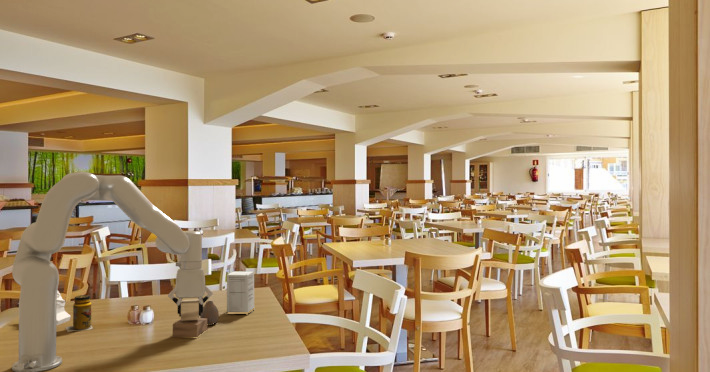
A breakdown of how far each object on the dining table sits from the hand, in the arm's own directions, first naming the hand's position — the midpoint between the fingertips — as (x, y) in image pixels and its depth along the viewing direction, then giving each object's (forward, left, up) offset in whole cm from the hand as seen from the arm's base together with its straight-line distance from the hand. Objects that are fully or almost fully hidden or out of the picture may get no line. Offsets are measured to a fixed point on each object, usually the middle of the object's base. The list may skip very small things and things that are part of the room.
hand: (190, 314), depth 188 cm
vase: (+13, -6, -7) cm, 16 cm away
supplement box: (+30, -18, -7) cm, 36 cm away
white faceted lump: (+28, +55, -7) cm, 62 cm away
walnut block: (0, 0, -7) cm, 7 cm away
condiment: (+16, +41, -7) cm, 45 cm away
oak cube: (0, 0, -1) cm, 1 cm away
